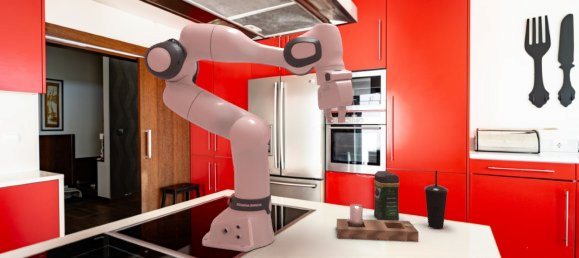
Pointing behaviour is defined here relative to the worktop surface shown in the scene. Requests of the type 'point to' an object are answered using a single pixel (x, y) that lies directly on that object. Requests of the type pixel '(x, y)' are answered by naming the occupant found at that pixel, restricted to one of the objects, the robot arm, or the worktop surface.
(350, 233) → the board
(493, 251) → the worktop surface
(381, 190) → the coffee jar
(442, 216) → the drinking cup
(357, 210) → the pin
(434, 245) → the worktop surface
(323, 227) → the worktop surface
